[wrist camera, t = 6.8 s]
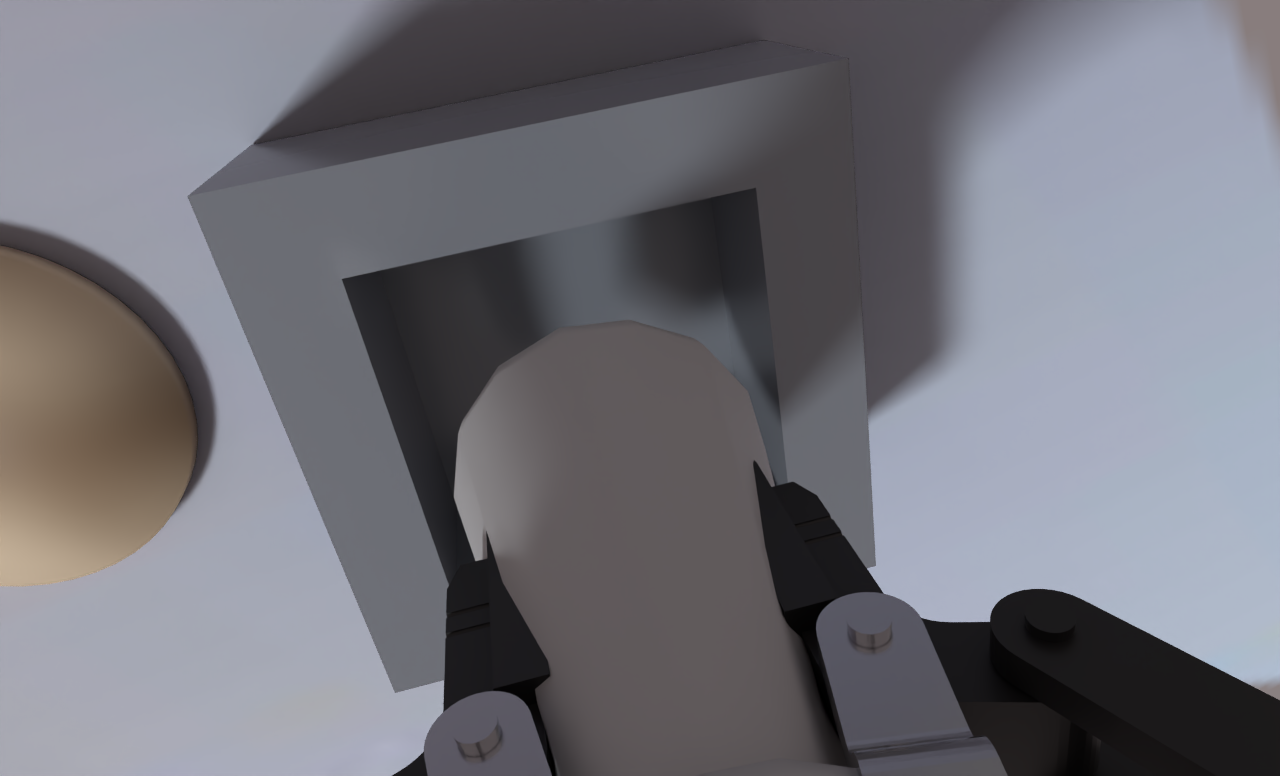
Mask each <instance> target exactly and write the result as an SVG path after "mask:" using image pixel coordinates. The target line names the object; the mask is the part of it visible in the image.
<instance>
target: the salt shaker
mask: <svg viewBox="0 0 1280 776" xmlns="http://www.w3.org/2000/svg"><path fill="white" fill-rule="evenodd" d="M754 460H755V461H756V462H757V464H758V465H759V467H760V469H761V470H762V472H763V474H764V475H765V477H766V479H767V480H768V482H769V484H770V485H771V487H773V486H775V484H774V480H773V476H772V473H771V469H770V465H769V461H768V457H767V454H766V450H765V446H764V443H763V440H762V436H761V433H760V430H759V426H758V423H757V420H756V416H755V413H754V410H753V406H752V403H751V400H750V396H749V393H748V391H747V390H746V389H745V388H744V387H743V386H742V385H741V384H740V382H739V381H738V380H737V379H736V378H735V377H734V376H733V375H732V374H731V373H730V372H729V371H728V370H727V369H726V368H725V367H724V366H723V365H722V364H721V363H720V362H719V360H718V359H717V358H716V357H715V356H714V355H713V354H712V353H711V352H710V351H709V350H708V349H707V348H706V347H705V346H704V345H703V344H701V343H700V342H699V341H697V340H696V339H694V338H692V337H688V336H685V335H681V334H678V333H674V332H671V331H667V330H664V329H660V328H657V327H653V326H650V325H646V324H643V323H639V322H636V321H632V320H622V321H613V322H604V323H596V324H587V325H579V326H570V327H560V328H558V329H556V330H555V331H553V332H552V333H550V334H549V335H547V336H545V337H544V338H542V339H541V340H539V341H537V342H536V343H534V344H533V345H531V346H529V347H528V348H526V349H525V350H523V351H522V352H520V353H518V354H517V355H515V356H514V357H512V358H510V359H509V360H507V361H506V362H504V363H502V364H501V365H499V366H498V367H497V369H496V370H495V372H494V373H493V375H492V376H491V378H490V380H489V381H488V383H487V384H486V386H485V387H484V389H483V390H482V392H481V393H480V395H479V396H478V398H477V399H476V401H475V402H474V404H473V405H472V407H471V408H470V410H469V411H468V413H467V414H466V416H465V418H464V419H463V421H462V423H461V426H460V430H459V433H458V443H457V458H456V472H455V487H454V499H455V502H456V505H457V508H458V511H459V514H460V517H461V520H462V523H463V526H464V529H465V532H466V535H467V538H468V541H469V543H470V546H471V549H472V552H473V555H474V558H475V561H479V560H483V559H487V538H486V531H487V534H488V537H489V540H490V543H491V547H492V550H493V553H494V556H495V559H496V562H497V566H498V569H499V572H500V575H501V578H502V581H503V584H504V585H505V587H506V589H507V591H508V592H509V594H510V596H511V598H512V599H513V601H514V603H515V605H516V606H517V608H518V610H519V611H520V613H521V615H522V617H523V618H524V620H525V622H526V624H527V625H528V627H529V629H530V631H531V632H532V634H533V636H534V638H535V639H536V641H537V643H538V644H539V646H540V648H541V650H542V651H543V653H544V655H545V657H546V658H547V660H548V665H549V671H550V677H549V678H548V679H546V680H545V681H544V682H543V683H542V684H541V685H539V686H538V687H537V688H536V689H535V693H536V699H537V704H538V707H539V711H540V714H541V717H542V720H543V723H544V727H545V731H546V735H547V740H548V744H549V748H550V753H551V757H552V762H553V766H554V771H555V776H859V775H858V772H857V770H856V768H851V767H847V765H846V761H845V757H844V754H843V750H842V746H841V742H840V739H839V737H838V735H837V733H836V731H835V729H834V727H833V725H832V722H831V720H830V718H829V715H828V713H827V710H826V708H825V705H824V702H823V700H822V697H821V694H820V692H819V689H818V685H817V681H816V678H815V674H814V671H813V667H812V663H811V660H810V657H809V654H808V652H807V649H806V647H805V644H804V642H803V639H802V638H801V637H800V636H799V635H798V634H797V633H796V632H795V631H793V630H792V629H791V628H790V627H789V625H788V624H787V622H786V621H785V618H784V615H783V612H782V610H781V607H780V604H779V601H778V599H777V596H776V592H775V588H774V583H773V579H772V574H771V570H770V566H769V561H768V557H767V552H766V548H765V542H764V535H763V529H762V522H761V515H760V508H759V501H758V495H757V488H756V481H755V474H754V467H753V462H754Z"/></svg>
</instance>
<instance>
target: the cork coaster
mask: <svg viewBox="0 0 1280 776" xmlns="http://www.w3.org/2000/svg"><path fill="white" fill-rule="evenodd" d="M197 445H198V433H197V419H196V414H195V410H194V405H193V401H192V397H191V395H190V392H189V390H188V387H187V384H186V382H185V379H184V377H183V375H182V373H181V371H180V370H179V368H178V366H177V364H176V362H175V361H174V359H173V357H172V356H171V354H170V353H169V351H168V350H167V349H166V347H165V346H164V345H163V343H162V342H161V341H160V339H159V338H158V336H157V335H156V334H155V333H154V332H153V331H152V330H151V329H150V328H149V327H148V326H147V325H146V324H145V323H144V321H143V320H142V319H141V318H140V317H139V316H138V315H136V314H135V313H134V312H133V311H132V310H131V309H129V308H128V307H127V306H126V305H125V304H124V303H122V302H121V301H120V300H119V299H118V298H116V297H115V296H113V295H112V294H110V293H109V292H107V291H106V290H104V289H103V288H101V287H100V286H99V285H97V284H96V283H94V282H92V281H90V280H89V279H87V278H85V277H83V276H81V275H79V274H77V273H76V272H74V271H72V270H70V269H68V268H66V267H64V266H61V265H59V264H56V263H54V262H52V261H49V260H47V259H44V258H42V257H39V256H36V255H33V254H30V253H26V252H23V251H20V250H17V249H13V248H10V247H5V246H0V586H33V585H44V584H52V583H57V582H62V581H67V580H73V579H76V578H79V577H83V576H86V575H89V574H92V573H95V572H98V571H100V570H102V569H105V568H107V567H109V566H112V565H114V564H116V563H118V562H119V561H121V560H123V559H125V558H126V557H128V556H130V555H131V554H133V553H135V552H136V551H137V550H138V549H140V548H141V547H142V546H143V545H145V544H146V543H147V542H149V541H150V540H151V539H152V538H153V537H154V536H155V535H156V534H157V533H158V532H159V530H160V529H161V528H162V527H163V526H164V525H165V524H166V522H167V521H168V519H169V518H170V516H171V515H172V514H173V512H174V511H175V509H176V507H177V506H178V504H179V502H180V500H181V498H182V496H183V494H184V492H185V490H186V488H187V486H188V483H189V481H190V479H191V476H192V472H193V469H194V465H195V462H196V455H197Z"/></svg>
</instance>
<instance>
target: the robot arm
mask: <svg viewBox="0 0 1280 776" xmlns="http://www.w3.org/2000/svg"><path fill="white" fill-rule="evenodd" d="M753 467H754V474H755V481H756V488H757V495H758V501H759V508H760V515H761V522H762V529H763V535H764V542H765V548H766V552H767V557H768V561H769V566H770V570H771V574H772V579H773V583H774V588H775V592H776V596H777V599H778V601H779V604H780V607H781V610H782V612H783V615H784V618H785V621H786V622H787V624H788V625H789V627H790V628H791V629H792V630H793V631H795V632H796V633H797V634H798V635H799V636H800V637H801V638H802V639H803V642H804V644H805V647H806V649H807V652H808V654H809V657H810V660H811V663H812V667H813V671H814V674H815V678H816V681H817V685H818V689H819V692H820V694H821V697H822V700H823V702H824V705H825V708H826V710H827V713H828V715H829V718H830V720H831V722H832V725H833V727H834V729H835V731H836V733H837V735H838V737H839V739H840V742H841V746H842V750H843V754H844V757H845V761H846V765H847V767H851V768H856V770H857V772H858V775H859V776H1280V700H1278V699H1276V698H1274V697H1272V696H1270V695H1268V694H1266V693H1264V692H1262V691H1260V690H1258V689H1256V688H1254V687H1252V686H1251V685H1249V684H1247V683H1245V682H1243V681H1241V680H1239V679H1237V678H1235V677H1233V676H1231V675H1229V674H1227V673H1225V672H1223V671H1221V670H1219V669H1217V668H1215V667H1213V666H1211V665H1209V664H1207V663H1205V662H1203V661H1202V660H1200V659H1198V658H1196V657H1194V656H1192V655H1190V654H1188V653H1186V652H1184V651H1182V650H1180V649H1178V648H1176V647H1174V646H1172V645H1170V644H1168V643H1166V642H1164V641H1162V640H1160V639H1158V638H1156V637H1154V636H1153V635H1151V634H1149V633H1147V632H1145V631H1143V630H1141V629H1139V628H1137V627H1135V626H1133V625H1131V624H1129V623H1127V622H1125V621H1123V620H1121V619H1119V618H1117V617H1115V616H1113V615H1111V614H1109V613H1107V612H1105V611H1104V610H1102V609H1100V608H1098V607H1096V606H1094V605H1092V604H1090V603H1088V602H1086V601H1084V600H1082V599H1080V598H1077V597H1075V596H1073V595H1070V594H1067V593H1064V592H1059V591H1055V590H1047V589H1029V590H1022V591H1018V592H1015V593H1012V594H1010V595H1007V596H1006V597H1004V598H1003V599H1001V600H1000V601H999V602H998V603H997V604H996V605H995V607H994V608H993V610H992V613H991V616H990V622H938V621H931V620H927V619H923V618H921V617H920V616H919V614H918V613H917V612H916V611H915V609H913V608H912V607H911V606H910V605H909V604H907V603H905V602H904V601H902V600H900V599H898V598H896V597H893V596H890V595H886V594H884V593H883V592H882V590H881V589H880V587H879V586H878V584H877V583H876V582H875V580H874V579H873V577H872V576H871V574H870V573H869V571H868V570H867V568H866V567H865V565H864V564H863V562H862V561H861V559H860V558H859V556H858V555H857V554H856V552H855V551H854V549H853V548H852V546H851V545H850V543H849V542H848V540H847V539H846V537H845V536H844V535H842V532H841V530H840V528H839V527H838V526H837V524H836V523H835V521H834V520H833V519H831V515H830V514H829V512H828V511H827V509H826V508H825V506H824V505H823V503H822V502H821V500H820V499H819V498H818V496H817V495H815V494H814V493H812V492H810V491H809V490H807V489H805V488H804V487H802V486H800V485H799V484H797V483H795V482H789V483H785V484H781V485H777V486H773V487H771V485H770V484H769V482H768V480H767V479H766V477H765V475H764V474H763V472H762V470H761V469H760V467H759V465H758V464H757V462H756V461H755V460H754V462H753ZM486 538H487V559H483V560H479V561H475V562H471V563H467V564H463V565H460V567H459V569H458V570H457V572H456V574H455V576H454V577H453V579H452V581H451V583H450V585H449V586H448V588H447V599H446V615H447V618H446V638H445V675H444V711H443V713H442V714H441V715H440V716H439V717H438V718H437V720H436V721H435V722H434V724H433V725H432V726H431V728H430V730H429V732H428V734H427V737H426V740H425V745H424V752H423V753H422V754H421V755H420V756H419V757H418V758H417V759H416V760H415V761H413V762H412V763H411V764H409V765H408V766H407V767H405V768H404V769H402V770H401V771H399V772H397V773H396V774H394V775H392V776H555V771H554V766H553V762H552V757H551V753H550V748H549V744H548V740H547V735H546V731H545V727H544V723H543V720H542V717H541V714H540V711H539V707H538V704H537V699H536V693H535V689H536V688H537V687H538V686H539V685H541V684H542V683H543V682H544V681H545V680H546V679H548V678H549V677H550V671H549V665H548V660H547V658H546V657H545V655H544V653H543V651H542V650H541V648H540V646H539V644H538V643H537V641H536V639H535V638H534V636H533V634H532V632H531V631H530V629H529V627H528V625H527V624H526V622H525V620H524V618H523V617H522V615H521V613H520V611H519V610H518V608H517V606H516V605H515V603H514V601H513V599H512V598H511V596H510V594H509V592H508V591H507V589H506V587H505V585H504V584H503V581H502V578H501V575H500V572H499V569H498V566H497V562H496V559H495V556H494V553H493V550H492V547H491V543H490V540H489V537H488V534H487V531H486Z"/></svg>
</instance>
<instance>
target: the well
mask: <svg viewBox="0 0 1280 776" xmlns="http://www.w3.org/2000/svg"><path fill="white" fill-rule="evenodd" d="M188 199H189V201H190V203H191V206H192V208H193V211H194V213H195V215H196V218H197V220H198V223H199V225H200V227H201V230H202V232H203V234H204V237H205V239H206V242H207V244H208V246H209V249H210V251H211V254H212V256H213V258H214V261H215V263H216V266H217V268H218V270H219V273H220V275H221V278H222V280H223V282H224V285H225V287H226V289H227V292H228V294H229V297H230V299H231V301H232V304H233V306H234V309H235V311H236V313H237V316H238V318H239V321H240V323H241V325H242V328H243V330H244V333H245V335H246V337H247V340H248V342H249V344H250V347H251V349H252V352H253V354H254V356H255V359H256V361H257V364H258V366H259V368H260V371H261V373H262V376H263V378H264V380H265V383H266V385H267V388H268V390H269V392H270V395H271V397H272V399H273V402H274V404H275V407H276V409H277V411H278V414H279V416H280V419H281V421H282V423H283V426H284V428H285V431H286V433H287V435H288V438H289V440H290V443H291V445H292V447H293V450H294V452H295V454H296V457H297V459H298V462H299V464H300V466H301V469H302V471H303V474H304V476H305V478H306V481H307V483H308V486H309V488H310V490H311V493H312V495H313V498H314V500H315V502H316V505H317V507H318V509H319V512H320V514H321V517H322V519H323V521H324V524H325V526H326V529H327V531H328V533H329V536H330V538H331V541H332V543H333V545H334V548H335V550H336V553H337V555H338V557H339V560H340V562H341V564H342V567H343V569H344V572H345V574H346V576H347V579H348V581H349V584H350V586H351V588H352V591H353V593H354V596H355V598H356V600H357V603H358V605H359V608H360V610H361V612H362V615H363V617H364V619H365V622H366V624H367V627H368V629H369V631H370V634H371V636H372V639H373V641H374V643H375V646H376V648H377V651H378V653H379V655H380V658H381V660H382V663H383V665H384V667H385V670H386V672H387V674H388V677H389V679H390V682H391V684H392V686H393V689H394V691H395V693H396V692H400V691H404V690H408V689H412V688H415V687H419V686H423V685H427V684H430V683H434V682H438V681H442V680H444V675H445V638H446V618H447V615H446V599H447V588H448V586H449V585H450V583H451V581H452V579H453V577H454V576H455V574H456V572H457V570H458V569H459V567H460V565H463V564H467V563H471V562H475V558H474V555H473V552H472V549H471V546H470V543H469V541H468V538H467V535H466V532H465V529H464V526H463V523H462V520H461V517H460V514H459V511H458V508H457V505H456V502H455V499H454V487H455V472H456V458H457V443H458V433H459V430H460V426H461V423H462V421H463V419H464V418H465V416H466V414H467V413H468V411H469V410H470V408H471V407H472V405H473V404H474V402H475V401H476V399H477V398H478V396H479V395H480V393H481V392H482V390H483V389H484V387H485V386H486V384H487V383H488V381H489V380H490V378H491V376H492V375H493V373H494V372H495V370H496V369H497V367H498V366H499V365H501V364H502V363H504V362H506V361H507V360H509V359H510V358H512V357H514V356H515V355H517V354H518V353H520V352H522V351H523V350H525V349H526V348H528V347H529V346H531V345H533V344H534V343H536V342H537V341H539V340H541V339H542V338H544V337H545V336H547V335H549V334H550V333H552V332H553V331H555V330H556V329H558V328H560V327H570V326H579V325H587V324H596V323H604V322H613V321H622V320H632V321H636V322H639V323H643V324H646V325H650V326H653V327H657V328H660V329H664V330H667V331H671V332H674V333H678V334H681V335H685V336H688V337H692V338H694V339H696V340H697V341H699V342H700V343H701V344H703V345H704V346H705V347H706V348H707V349H708V350H709V351H710V352H711V353H712V354H713V355H714V356H715V357H716V358H717V359H718V360H719V362H720V363H721V364H722V365H723V366H724V367H725V368H726V369H727V370H728V371H729V372H730V373H731V374H732V375H733V376H734V377H735V378H736V379H737V380H738V381H739V382H740V384H741V385H742V386H743V387H744V388H745V389H746V390H747V391H748V393H749V396H750V400H751V403H752V406H753V410H754V413H755V416H756V420H757V423H758V426H759V430H760V433H761V436H762V440H763V443H764V446H765V450H766V454H767V457H768V461H769V465H770V469H771V473H772V476H773V480H774V484H775V486H777V485H781V484H785V483H789V482H795V483H797V484H799V485H800V486H802V487H804V488H805V489H807V490H809V491H810V492H812V493H814V494H815V495H817V496H818V498H819V499H820V500H821V502H822V503H823V505H824V506H825V508H826V509H827V511H828V512H829V514H830V515H831V519H833V520H834V521H835V523H836V524H837V526H838V527H839V528H840V530H841V532H842V535H844V536H845V537H846V539H847V540H848V542H849V543H850V545H851V546H852V548H853V549H854V551H855V552H856V554H857V555H858V556H859V558H860V559H861V561H862V562H863V564H864V565H865V567H866V568H869V567H873V566H876V560H875V541H874V523H873V504H872V486H871V467H870V449H869V430H868V412H867V393H866V375H865V356H864V337H863V319H862V300H861V282H860V263H859V245H858V226H857V208H856V189H855V171H854V152H853V134H852V115H851V96H850V78H849V59H848V58H845V57H840V56H836V55H831V54H826V53H822V52H817V51H813V50H808V49H803V48H799V47H794V46H790V45H785V44H780V43H776V42H771V41H767V40H762V41H757V42H752V43H747V44H742V45H737V46H732V47H727V48H723V49H718V50H713V51H708V52H703V53H698V54H693V55H688V56H683V57H679V58H674V59H669V60H664V61H659V62H654V63H649V64H644V65H639V66H635V67H630V68H625V69H620V70H615V71H610V72H605V73H600V74H596V75H591V76H586V77H581V78H576V79H571V80H566V81H561V82H556V83H552V84H547V85H542V86H537V87H532V88H527V89H522V90H517V91H513V92H508V93H503V94H498V95H493V96H488V97H483V98H478V99H473V100H469V101H464V102H459V103H454V104H449V105H444V106H439V107H434V108H430V109H425V110H420V111H415V112H410V113H405V114H400V115H395V116H390V117H386V118H381V119H376V120H371V121H366V122H361V123H356V124H351V125H347V126H342V127H337V128H332V129H327V130H322V131H317V132H312V133H307V134H303V135H298V136H293V137H288V138H283V139H278V140H273V141H268V142H264V143H259V144H254V145H251V146H249V147H248V148H247V149H246V150H244V151H243V152H242V153H241V154H239V155H238V156H237V157H236V158H234V159H233V160H232V161H231V162H229V163H228V164H227V165H226V166H224V167H223V168H222V169H221V170H220V171H218V172H217V173H216V174H215V175H213V176H212V177H211V178H210V179H208V180H207V181H206V182H205V183H203V184H202V185H201V186H200V187H198V188H197V189H196V190H195V191H193V192H192V193H191V194H190V195H188Z"/></svg>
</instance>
